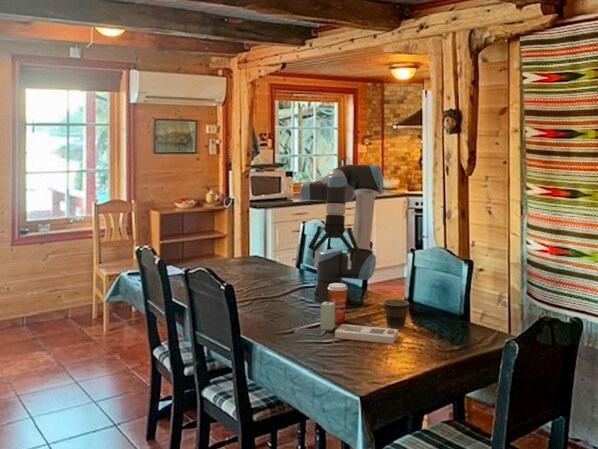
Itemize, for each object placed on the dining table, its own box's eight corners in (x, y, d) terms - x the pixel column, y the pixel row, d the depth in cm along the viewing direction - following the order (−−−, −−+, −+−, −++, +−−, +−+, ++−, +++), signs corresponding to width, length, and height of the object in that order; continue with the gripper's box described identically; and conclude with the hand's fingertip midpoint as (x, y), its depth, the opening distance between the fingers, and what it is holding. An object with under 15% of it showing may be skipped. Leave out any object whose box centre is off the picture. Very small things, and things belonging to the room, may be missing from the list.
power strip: (341, 330, 245) (341, 322, 245) (398, 335, 238) (398, 327, 238) (334, 337, 236) (334, 329, 236) (393, 343, 229) (393, 335, 229)
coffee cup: (330, 324, 253) (330, 287, 251) (325, 318, 261) (325, 283, 259) (350, 323, 255) (350, 286, 253) (344, 317, 263) (345, 282, 261)
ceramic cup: (400, 322, 256) (400, 298, 255) (413, 329, 247) (413, 304, 245) (371, 325, 251) (372, 301, 250) (384, 332, 242) (384, 307, 241)
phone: (298, 330, 248) (298, 327, 247) (325, 333, 244) (325, 330, 244) (293, 334, 242) (293, 331, 242) (321, 337, 238) (321, 334, 238)
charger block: (323, 326, 251) (324, 301, 250) (334, 327, 250) (334, 302, 248) (320, 329, 247) (320, 303, 246) (331, 330, 245) (331, 304, 244)
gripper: (302, 212, 251) (299, 266, 250) (364, 215, 243) (361, 270, 242) (308, 214, 258) (305, 265, 257) (368, 216, 250) (365, 270, 249)
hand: (332, 268), depth 250 cm, fingers open, 13 cm apart
